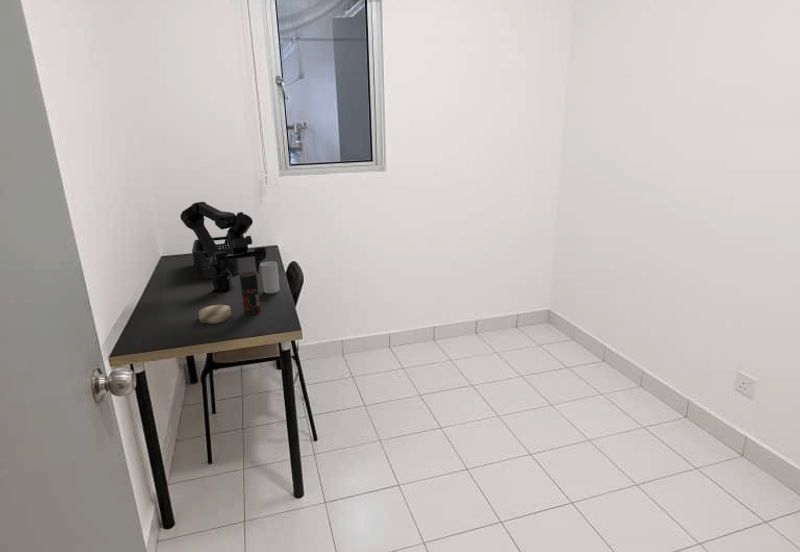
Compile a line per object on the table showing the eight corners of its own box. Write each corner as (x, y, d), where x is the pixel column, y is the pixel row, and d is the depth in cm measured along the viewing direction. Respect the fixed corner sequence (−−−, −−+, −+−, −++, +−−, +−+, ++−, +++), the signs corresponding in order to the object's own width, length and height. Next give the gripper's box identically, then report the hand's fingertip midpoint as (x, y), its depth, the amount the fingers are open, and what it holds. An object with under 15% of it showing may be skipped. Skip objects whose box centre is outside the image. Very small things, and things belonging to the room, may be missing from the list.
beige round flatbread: (194, 323, 176) (193, 316, 175) (207, 312, 187) (206, 304, 186) (224, 323, 175) (223, 316, 174) (235, 312, 186) (234, 304, 185)
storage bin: (198, 264, 250) (194, 238, 246) (238, 259, 256) (234, 234, 252) (196, 280, 225) (191, 252, 220) (240, 275, 231) (236, 247, 226)
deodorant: (247, 309, 188) (242, 271, 184) (262, 309, 188) (258, 271, 183) (242, 315, 183) (237, 276, 178) (258, 315, 182) (253, 276, 178)
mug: (279, 293, 205) (276, 265, 201) (262, 294, 204) (259, 266, 200) (281, 285, 214) (278, 258, 211) (265, 286, 213) (262, 259, 210)
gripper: (211, 232, 183) (219, 268, 177) (262, 226, 190) (271, 260, 184) (212, 248, 192) (220, 282, 186) (260, 241, 200) (269, 274, 194)
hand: (245, 274), depth 187 cm, fingers open, 9 cm apart
